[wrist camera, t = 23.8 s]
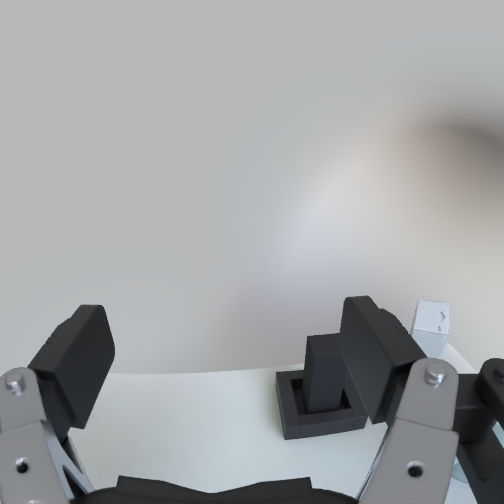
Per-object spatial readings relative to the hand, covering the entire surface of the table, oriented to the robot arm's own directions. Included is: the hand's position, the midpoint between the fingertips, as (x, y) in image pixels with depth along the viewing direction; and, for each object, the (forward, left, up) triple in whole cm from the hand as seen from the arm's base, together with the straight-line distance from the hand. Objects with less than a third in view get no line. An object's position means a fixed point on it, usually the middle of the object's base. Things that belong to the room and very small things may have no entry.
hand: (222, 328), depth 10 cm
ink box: (+25, +20, -26) cm, 41 cm away
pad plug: (+10, +18, -25) cm, 33 cm away
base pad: (+10, +19, -26) cm, 33 cm away
